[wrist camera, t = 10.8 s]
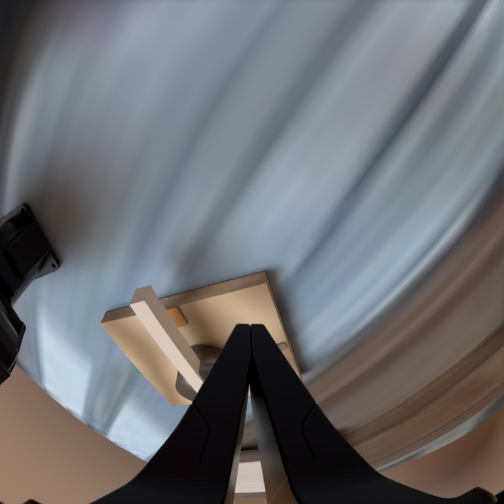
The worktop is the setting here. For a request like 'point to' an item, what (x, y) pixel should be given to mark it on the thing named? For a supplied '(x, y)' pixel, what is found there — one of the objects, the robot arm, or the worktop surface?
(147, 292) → the wooden latch lever
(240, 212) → the worktop surface
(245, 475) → the square plate
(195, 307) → the board
